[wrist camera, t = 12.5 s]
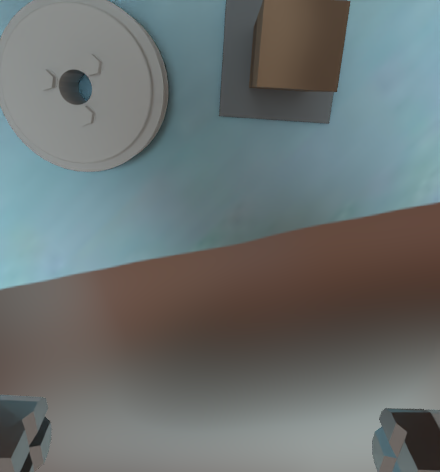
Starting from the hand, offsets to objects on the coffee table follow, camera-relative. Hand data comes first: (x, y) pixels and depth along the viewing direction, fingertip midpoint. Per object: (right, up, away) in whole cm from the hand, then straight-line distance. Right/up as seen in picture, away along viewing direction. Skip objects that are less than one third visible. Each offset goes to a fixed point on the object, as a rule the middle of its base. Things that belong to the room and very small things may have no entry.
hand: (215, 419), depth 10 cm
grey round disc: (-10, +17, +24) cm, 31 cm away
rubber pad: (+5, +18, +23) cm, 30 cm away
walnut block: (+5, +18, +22) cm, 29 cm away
